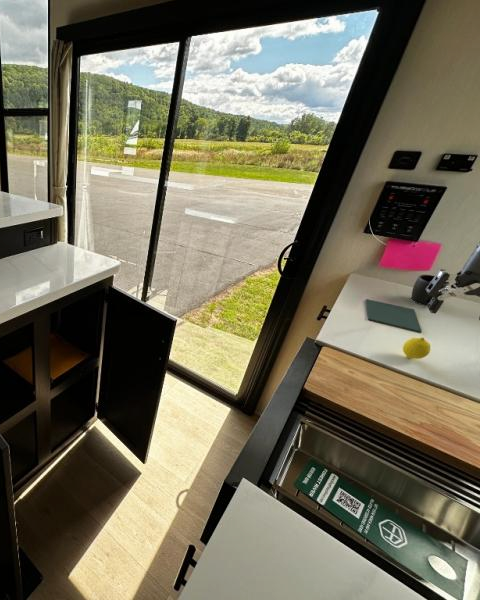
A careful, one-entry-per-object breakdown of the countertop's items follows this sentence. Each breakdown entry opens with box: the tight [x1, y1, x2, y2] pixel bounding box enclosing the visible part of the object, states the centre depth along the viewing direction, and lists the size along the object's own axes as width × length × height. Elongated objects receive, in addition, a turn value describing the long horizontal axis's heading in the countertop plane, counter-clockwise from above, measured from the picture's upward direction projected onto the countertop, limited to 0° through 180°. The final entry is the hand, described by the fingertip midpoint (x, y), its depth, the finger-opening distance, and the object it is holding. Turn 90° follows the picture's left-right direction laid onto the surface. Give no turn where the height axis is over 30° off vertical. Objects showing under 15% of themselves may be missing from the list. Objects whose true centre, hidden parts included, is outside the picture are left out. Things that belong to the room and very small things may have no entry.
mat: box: [365, 298, 423, 334], centre depth 115 cm, size 14×16×1 cm
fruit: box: [402, 337, 431, 360], centre depth 94 cm, size 6×6×8 cm
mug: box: [410, 274, 451, 306], centre depth 118 cm, size 8×12×10 cm
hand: (456, 316), depth 74 cm, fingers open, 8 cm apart
